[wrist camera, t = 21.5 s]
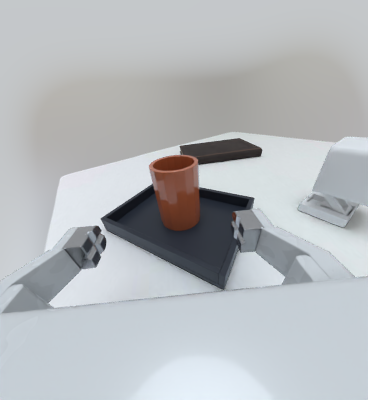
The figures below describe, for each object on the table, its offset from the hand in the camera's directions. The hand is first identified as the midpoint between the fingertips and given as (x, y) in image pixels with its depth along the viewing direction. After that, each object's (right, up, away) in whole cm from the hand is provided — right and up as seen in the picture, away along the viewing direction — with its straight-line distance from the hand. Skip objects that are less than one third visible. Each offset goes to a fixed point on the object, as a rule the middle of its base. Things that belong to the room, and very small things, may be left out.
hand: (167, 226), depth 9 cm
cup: (+1, -1, +15) cm, 15 cm away
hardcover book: (+12, +17, +42) cm, 47 cm away
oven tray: (0, -2, +15) cm, 15 cm away
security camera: (+23, 0, +13) cm, 27 cm away
